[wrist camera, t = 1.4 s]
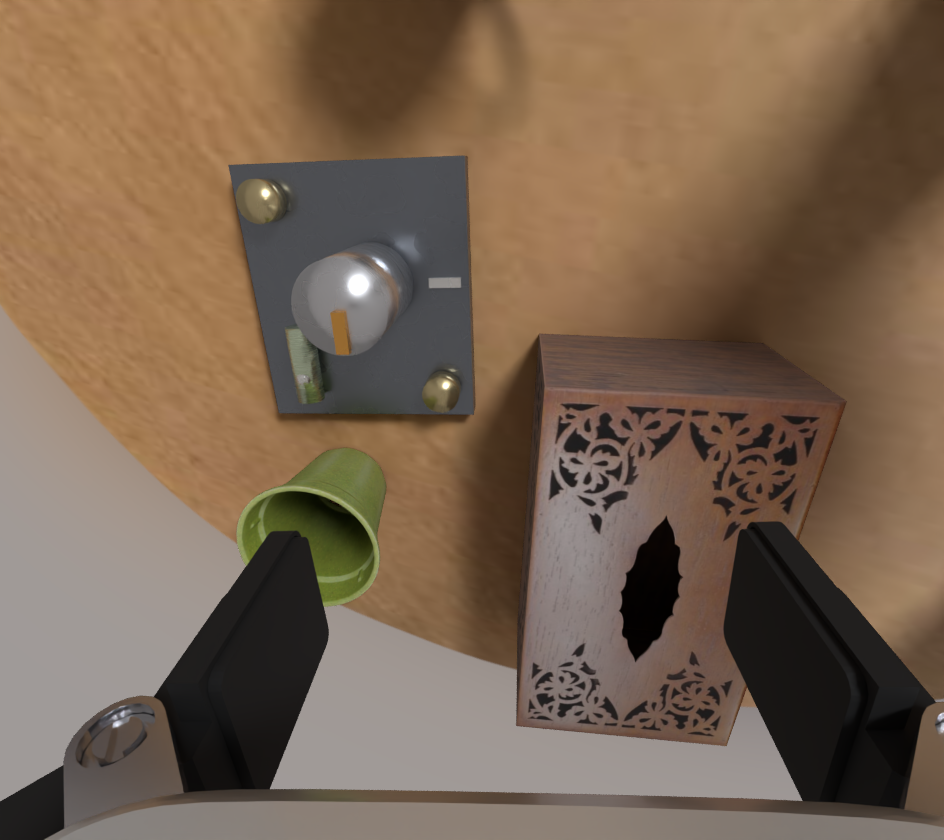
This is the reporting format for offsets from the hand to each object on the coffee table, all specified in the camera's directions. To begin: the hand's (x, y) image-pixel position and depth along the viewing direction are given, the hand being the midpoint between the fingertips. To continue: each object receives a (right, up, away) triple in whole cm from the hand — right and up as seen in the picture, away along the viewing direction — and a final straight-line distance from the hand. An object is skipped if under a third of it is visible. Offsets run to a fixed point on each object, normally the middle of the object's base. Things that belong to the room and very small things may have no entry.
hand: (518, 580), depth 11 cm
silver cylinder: (-7, +12, +22) cm, 26 cm away
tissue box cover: (+10, -3, +29) cm, 31 cm away
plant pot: (-11, -1, +30) cm, 32 cm away
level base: (-8, +12, +23) cm, 27 cm away
